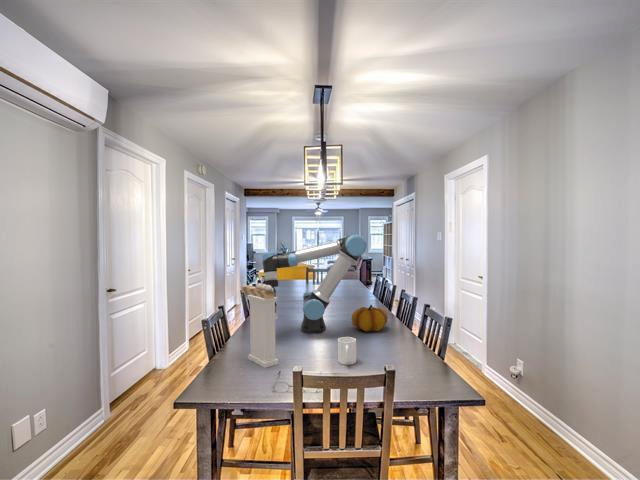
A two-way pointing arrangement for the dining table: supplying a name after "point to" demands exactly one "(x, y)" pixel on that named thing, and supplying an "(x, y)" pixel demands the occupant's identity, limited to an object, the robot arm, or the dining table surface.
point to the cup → (346, 350)
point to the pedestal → (262, 331)
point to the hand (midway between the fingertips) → (274, 318)
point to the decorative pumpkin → (369, 318)
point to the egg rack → (259, 290)
